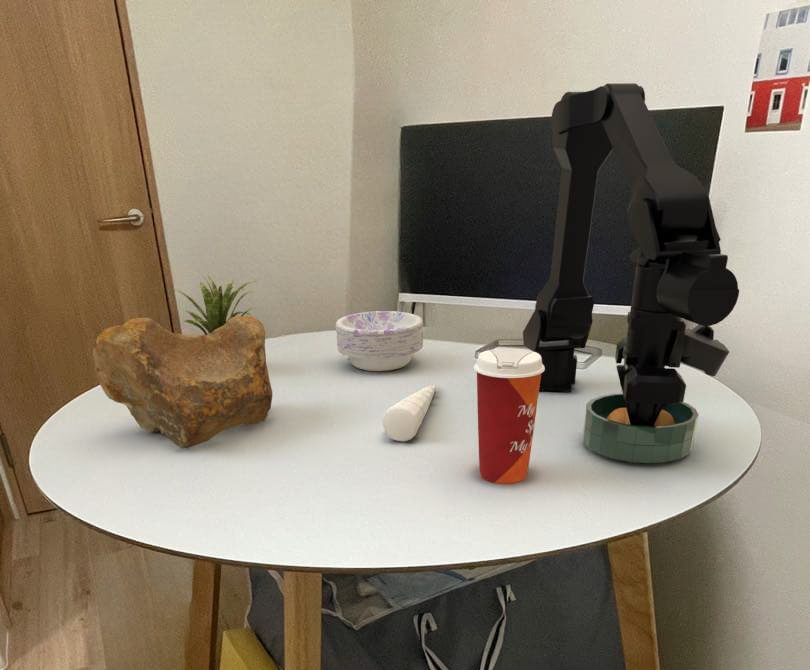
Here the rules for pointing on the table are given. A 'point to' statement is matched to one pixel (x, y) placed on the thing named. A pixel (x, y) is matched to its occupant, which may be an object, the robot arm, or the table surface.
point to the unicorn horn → (407, 415)
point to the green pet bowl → (638, 433)
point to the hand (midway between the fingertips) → (637, 435)
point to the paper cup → (506, 412)
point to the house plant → (215, 306)
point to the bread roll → (622, 417)
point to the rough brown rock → (186, 377)
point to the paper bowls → (379, 339)
